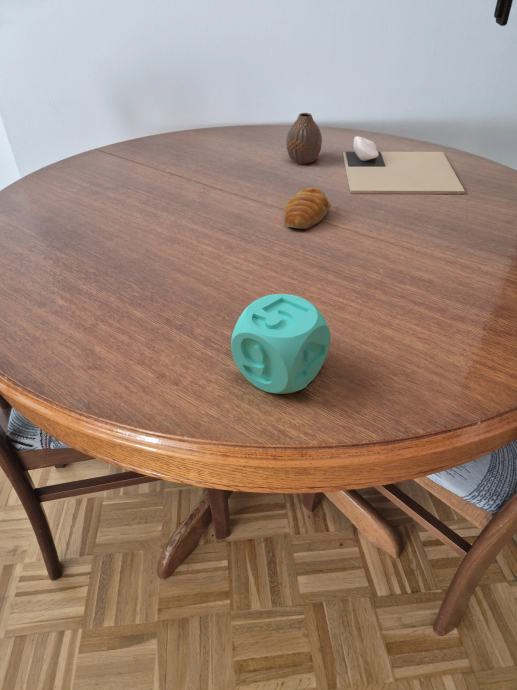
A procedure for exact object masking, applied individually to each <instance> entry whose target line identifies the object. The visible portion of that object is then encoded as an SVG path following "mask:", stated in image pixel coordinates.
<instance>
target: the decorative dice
mask: <svg viewBox="0 0 517 690" xmlns="http://www.w3.org/2000/svg"><path fill="white" fill-rule="evenodd" d="M330 343H331V331H330V328H329V325H328V322H327V320H326V318H325V316H324V315H323V314H322V312H321V311H320V310H319V309H318V308H317V307H316V306H315V305H314V304H313V303H312V302H310V301H309V300H307V299H306V298H303V297H301V296H298V295H294V294H288V293H272V294H267V295H265V296H262V297H259V298H257V299H256V300H254V301H252V302H251V303H249V304H248V306H246V308H245V309H244V310H243V311H242V313H241V314H240V316H239V317H238V319H237V321H236V323H235V325H234V328H233V331H232V334H231V339H230V350H231V355H232V359H233V361H234V363H235V365H236V368H237V369H238V371H239V372H240V373H241V375H242V376H243V377H244V378H245V380H247V381H248V382H249V383H250V384H251V385H253V386H254V387H256V388H257V389H258V390H260V391H264V392H267V393H271V394H277V395H279V394H280V395H284V394H292V393H296V392H299V391H301V390H303V389H305V388H307V387H308V386H309V385H310V384H311V383H312V382H313V380H314V379H315V378H316V376H317V375H318V374H319V372H320V370H321V369H322V367H323V365H324V363H325V360H326V358H327V355H328V353H329V349H330V345H331V344H330ZM311 381H312V382H311ZM310 382H311V383H310ZM309 383H310V384H309ZM308 384H309V385H308ZM307 385H308V386H307Z"/></svg>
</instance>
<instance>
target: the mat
mask: <svg viewBox="0 0 517 690" xmlns="http://www.w3.org/2000/svg"><path fill="white" fill-rule="evenodd" d="M447 158H448V157H446V155H445V153H444V151H378V157H376V158H373V159H370V160H367V161H362V160H360V158H359V157H358V156H357V154H356V153H355V151H342V159H343V163H344V164H343V165H344V168H345V169H344V170H345V173H346V178H347V184H348V189H349V193H350V194H353V195H354V194H355V195H357V194H358V195H359V194H361V195H362V194H363V195H364V194H367V195H368V194H370V195H371V194H373V195H375V194H376V195H377V194H380V195H381V194H382V195H383V194H384V195H386V194H387V195H392V194H393V195H397V194H398V195H465V193H466V190H465V189H464V187H463V185H462V183H461V181H460V180H459V178H458V176H457V174H456V172H455V171H454V169H453V168H452V166H451V164H450V162H449V160H448V159H447Z"/></svg>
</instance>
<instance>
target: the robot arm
mask: <svg viewBox="0 0 517 690" xmlns="http://www.w3.org/2000/svg"><path fill="white" fill-rule="evenodd" d="M513 1H514V0H496V3H495V8H494V12H493V17H494V18H495V23H496V24H498V25H499V26H500V27H505V26H506V25H508V21H509V17H510V15H511V14H510V13H511V9H512V6H513Z"/></svg>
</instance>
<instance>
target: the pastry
mask: <svg viewBox="0 0 517 690" xmlns="http://www.w3.org/2000/svg"><path fill="white" fill-rule="evenodd" d="M331 207H332V205H331V202H330V201H329V199H328V197H327V196H326V194H325V192H324V191H323V190H321V189H320V188H316V187H307V188H302V189H301V190H299V191H297V193H296V194H295V195H293V196H292V197H291V198H290V199H289V200H288V202H287V204H286V206H285V209H284V223H285V226H286V227H287V228H294V229H299V230H301V229H302V230H305V229H306V230H307V229H310V228H311V227H312V226H315V225H317V224H319V223H320V222H321V221H322V220H323V219H324V218H325V217H326V216H327V215H328V212H329V211H330V209H331Z"/></svg>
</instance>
